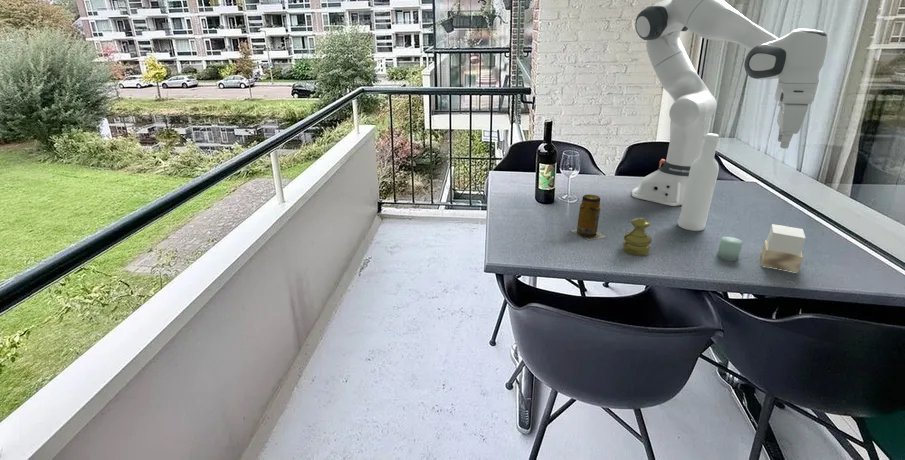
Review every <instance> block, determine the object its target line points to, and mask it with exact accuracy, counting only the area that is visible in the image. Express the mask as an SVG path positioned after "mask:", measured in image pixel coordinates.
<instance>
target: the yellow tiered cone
mask: <svg viewBox="0 0 905 460" xmlns="http://www.w3.org/2000/svg"><path fill="white" fill-rule="evenodd" d="M630 223H631V225H633V227H634V228H633V229H631V230H630V231H627V232H626V233H624V235H623V241H622V246H621V247H622V248H621V249H622V251H623V252H624V253H626V254H628V255H631V256H636V257H639V256H640V257H643V256H647V255H649V254H650V250H651V244H652V241H653V239H652V237H651V236H650V235H649V234H648V233H647V232H646V231H645V230H646V228H649V226H650V225H651V222H650V221H649V220H647V219H645V218H644V217H638V218H634V219H632V220H631V221H630Z"/></svg>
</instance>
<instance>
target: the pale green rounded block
mask: <svg viewBox="0 0 905 460" xmlns="http://www.w3.org/2000/svg"><path fill="white" fill-rule="evenodd" d="M743 243H744V242H743V240H741V239H739V238H736V237H733V236H722V237H721V238H720V242H719V246H718V250H717V255H716V256H717V257H718V258H720V259H722V260H725V261H729V260H730V261H729V262H736V261H738V260H739V257H740V254H741V251H742V247H743ZM735 260H736V261H735Z"/></svg>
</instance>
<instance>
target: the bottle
mask: <svg viewBox="0 0 905 460" xmlns="http://www.w3.org/2000/svg"><path fill="white" fill-rule="evenodd" d="M719 138H720V135H719V134H718V133H710V132H709V133H706V134H705V136H704V137H703V141H704V144H703V148H702V153H701V156H700V157H699V158H697V159H696V160H695V161H694V162H693V164H692V165H691V167H690V172H689V177H688V181H687V186H686V190H685V195H684V199H683V204H682V205H681V208H680V213H679V217H678V222H677V224H678V225H677V226H678V227H680V228H682V229H684V230H687V231H693V232H700V231H703V230H704V229H705V228H706V225H707V219H708V215H709V213H710V212H709V211H710V207H711V203H712V199H713V195H714V192H715V191H714V190H715V187H716V182H717V179H718V176H719V171H720V170H719V163H718V161H717V160H716V159H715V154H716V152H717V151H716V150H717V147H718V142H719V140H720V139H719Z"/></svg>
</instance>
